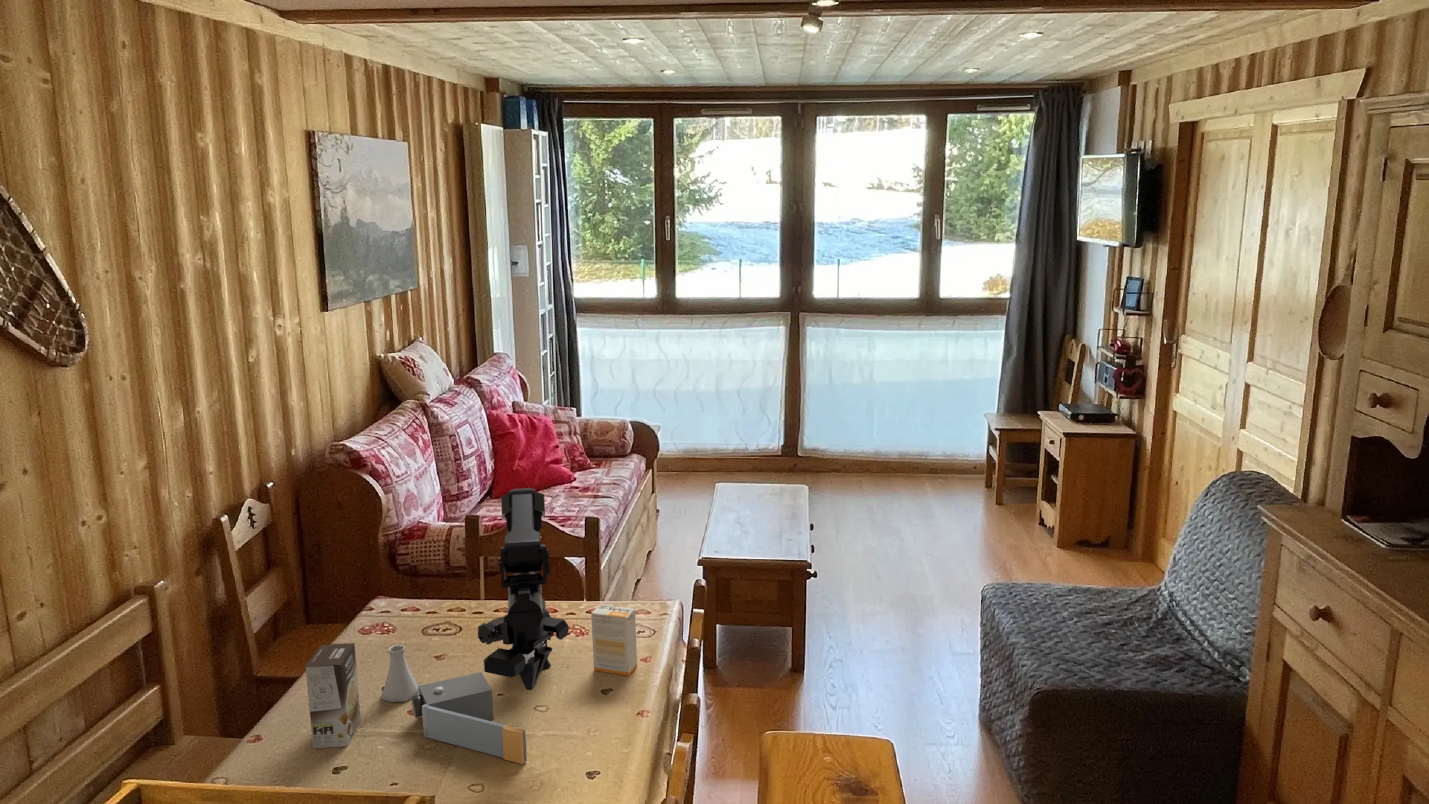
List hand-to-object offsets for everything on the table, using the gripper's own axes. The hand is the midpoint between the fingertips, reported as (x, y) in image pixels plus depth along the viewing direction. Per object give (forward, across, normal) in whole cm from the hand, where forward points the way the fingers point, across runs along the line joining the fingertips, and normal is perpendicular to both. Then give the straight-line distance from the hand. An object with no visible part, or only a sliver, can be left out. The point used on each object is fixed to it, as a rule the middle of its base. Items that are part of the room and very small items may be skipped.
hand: (529, 689), depth 177 cm
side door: (+11, +5, -9) cm, 15 cm away
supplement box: (+11, -32, 0) cm, 33 cm away
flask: (+11, -6, -35) cm, 37 cm away
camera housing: (+11, -3, -19) cm, 22 cm away
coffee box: (+11, +10, -35) cm, 39 cm away
